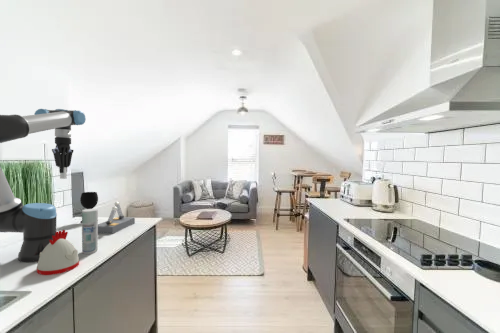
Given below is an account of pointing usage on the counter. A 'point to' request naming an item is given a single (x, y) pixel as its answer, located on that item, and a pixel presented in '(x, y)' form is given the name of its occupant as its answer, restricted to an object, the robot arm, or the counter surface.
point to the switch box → (115, 225)
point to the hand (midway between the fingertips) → (63, 178)
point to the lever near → (111, 215)
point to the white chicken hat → (58, 256)
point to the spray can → (89, 231)
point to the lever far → (119, 210)
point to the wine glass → (89, 200)
